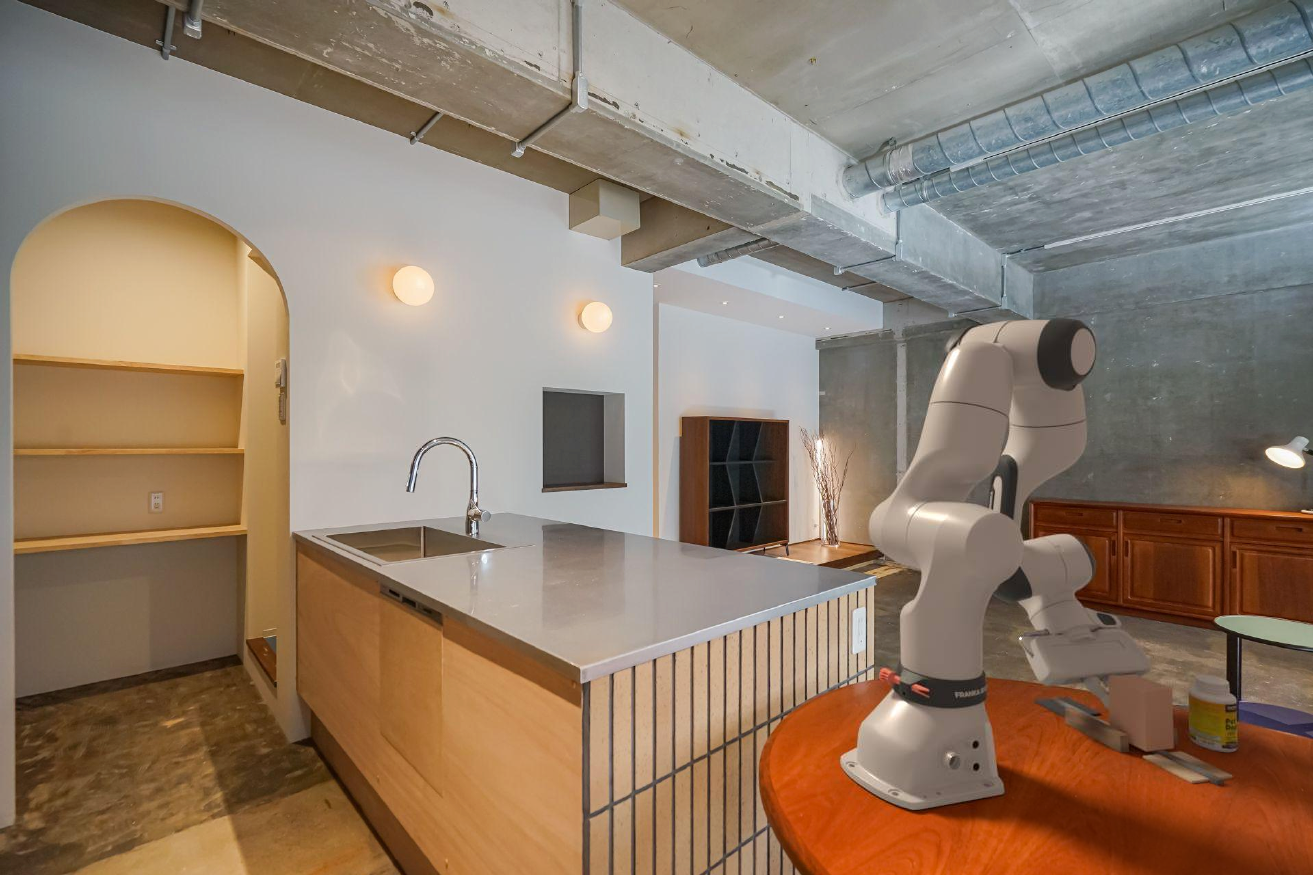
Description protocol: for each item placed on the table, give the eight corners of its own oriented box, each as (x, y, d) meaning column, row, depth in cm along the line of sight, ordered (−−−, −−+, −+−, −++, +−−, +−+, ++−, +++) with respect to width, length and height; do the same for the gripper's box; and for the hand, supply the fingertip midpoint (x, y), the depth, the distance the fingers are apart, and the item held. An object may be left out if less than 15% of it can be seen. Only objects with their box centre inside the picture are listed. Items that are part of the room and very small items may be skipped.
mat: (1142, 757, 91) (1142, 755, 91) (1181, 752, 92) (1181, 751, 92) (1191, 783, 84) (1191, 780, 84) (1232, 777, 85) (1232, 775, 85)
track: (1028, 703, 110) (1027, 689, 110) (1077, 698, 112) (1077, 685, 112) (1189, 788, 82) (1188, 770, 82) (1251, 780, 84) (1250, 762, 84)
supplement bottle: (1231, 757, 90) (1230, 688, 91) (1184, 742, 95) (1182, 677, 95) (1243, 747, 93) (1241, 680, 94) (1196, 733, 98) (1194, 669, 98)
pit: (1034, 701, 111) (1034, 699, 111) (1066, 698, 112) (1066, 696, 112) (1066, 718, 104) (1066, 716, 104) (1101, 714, 105) (1101, 712, 105)
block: (1109, 733, 97) (1108, 676, 97) (1135, 730, 98) (1134, 674, 98) (1146, 751, 91) (1144, 691, 91) (1173, 748, 92) (1172, 688, 92)
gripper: (1024, 622, 104) (1074, 703, 94) (1124, 615, 108) (1183, 692, 98) (1005, 640, 108) (1051, 719, 98) (1102, 633, 112) (1156, 708, 102)
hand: (1118, 706), depth 98 cm, fingers closed, pressing on block
